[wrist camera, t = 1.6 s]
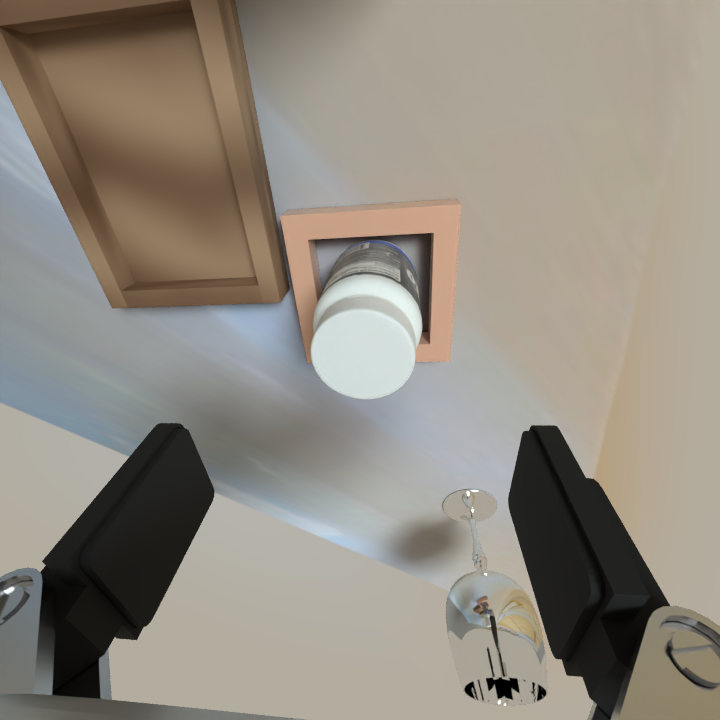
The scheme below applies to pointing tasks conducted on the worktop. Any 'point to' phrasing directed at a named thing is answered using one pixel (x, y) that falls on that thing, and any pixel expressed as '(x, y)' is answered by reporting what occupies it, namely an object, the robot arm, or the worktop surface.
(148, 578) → the robot arm
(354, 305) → the pill bottle
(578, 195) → the worktop surface
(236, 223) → the tray
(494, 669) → the wineglass
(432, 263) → the frame
